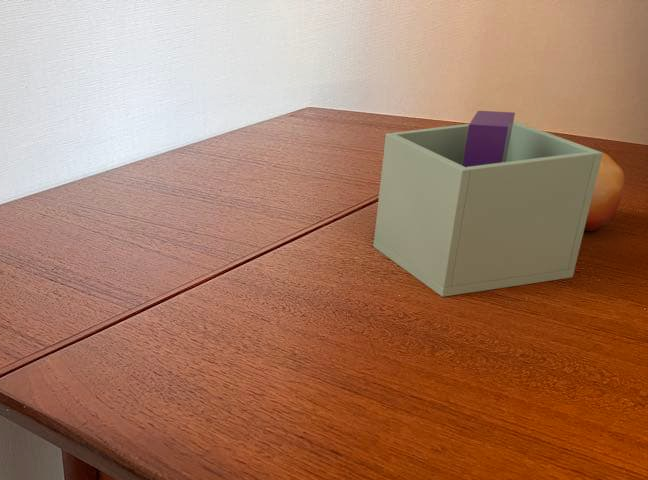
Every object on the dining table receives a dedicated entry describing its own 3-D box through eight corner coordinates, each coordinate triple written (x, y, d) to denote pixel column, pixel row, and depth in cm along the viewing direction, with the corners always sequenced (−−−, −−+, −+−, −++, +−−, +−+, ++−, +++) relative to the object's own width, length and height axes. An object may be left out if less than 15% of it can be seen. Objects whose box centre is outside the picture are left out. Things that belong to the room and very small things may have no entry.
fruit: (631, 200, 86) (640, 140, 79) (603, 260, 83) (610, 204, 77) (546, 188, 90) (547, 130, 84) (517, 245, 88) (517, 190, 82)
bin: (489, 230, 85) (509, 118, 79) (573, 277, 74) (603, 152, 69) (373, 246, 83) (385, 133, 77) (442, 297, 72) (462, 170, 67)
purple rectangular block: (447, 260, 77) (468, 124, 71) (456, 241, 81) (477, 110, 74) (482, 265, 76) (508, 126, 70) (490, 245, 79) (515, 112, 73)
